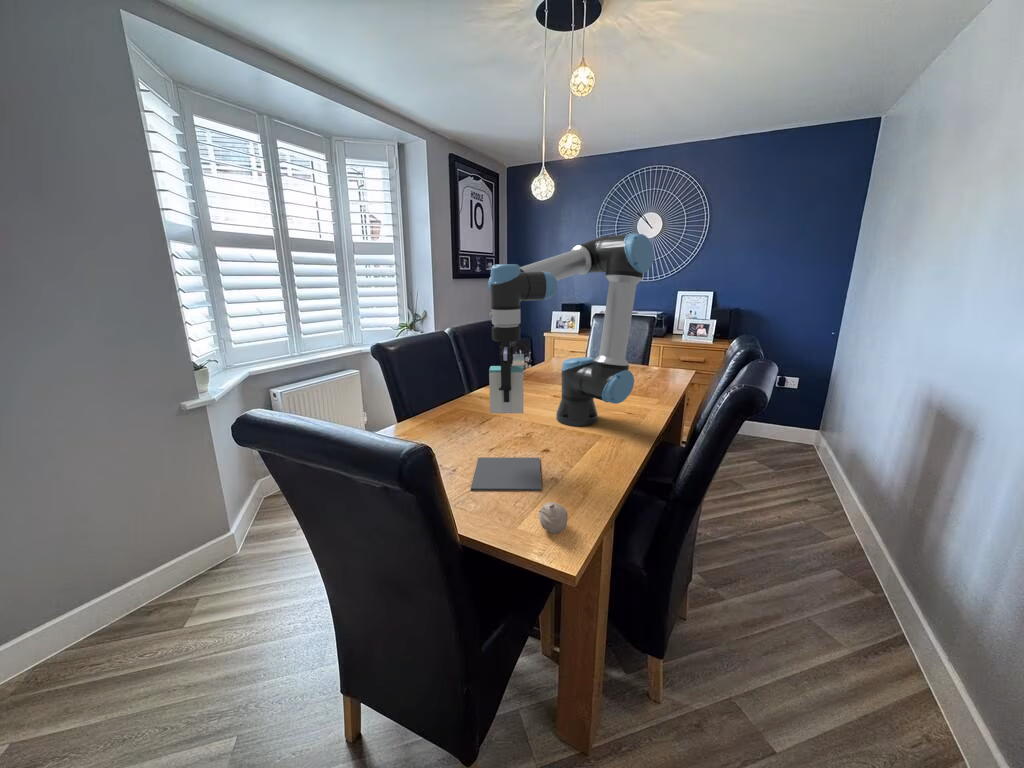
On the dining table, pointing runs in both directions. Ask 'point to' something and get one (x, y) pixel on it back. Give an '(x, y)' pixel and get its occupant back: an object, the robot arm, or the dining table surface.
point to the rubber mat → (507, 474)
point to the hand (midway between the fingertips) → (507, 409)
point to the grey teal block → (515, 386)
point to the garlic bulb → (553, 517)
